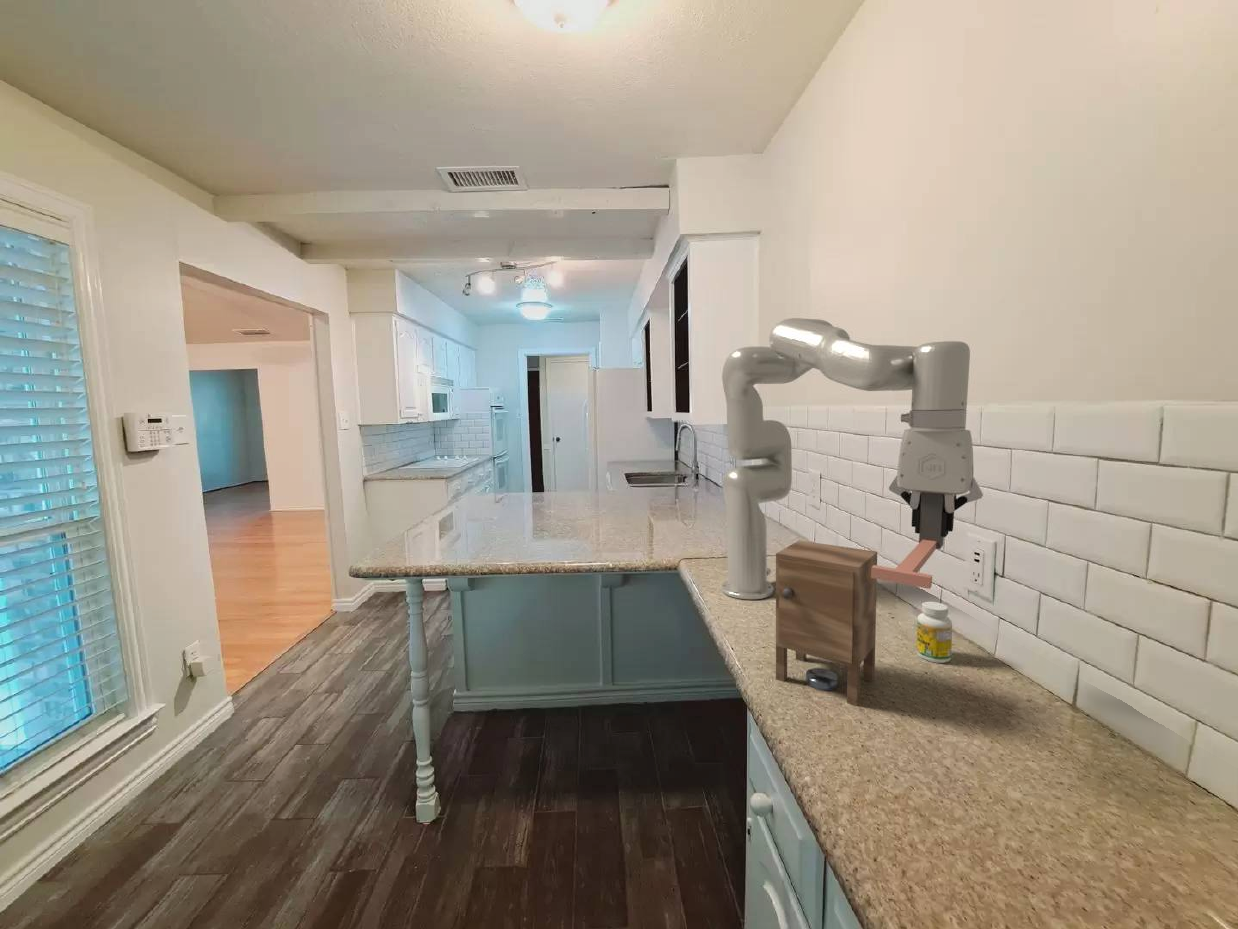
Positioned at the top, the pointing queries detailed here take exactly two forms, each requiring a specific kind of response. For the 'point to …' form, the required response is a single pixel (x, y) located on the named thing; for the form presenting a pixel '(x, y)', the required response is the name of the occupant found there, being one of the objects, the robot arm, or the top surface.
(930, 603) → the supplement bottle
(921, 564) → the rake
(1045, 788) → the top surface
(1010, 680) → the top surface
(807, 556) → the walnut cabinet
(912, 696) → the top surface
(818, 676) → the steel token
